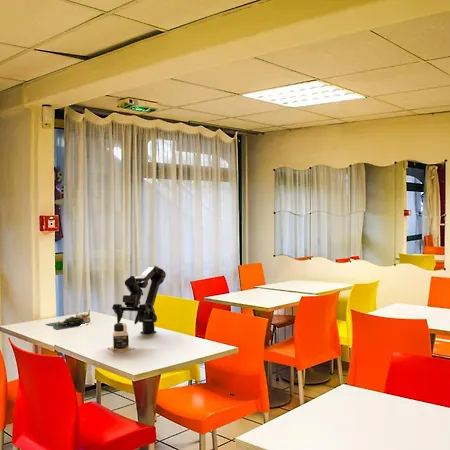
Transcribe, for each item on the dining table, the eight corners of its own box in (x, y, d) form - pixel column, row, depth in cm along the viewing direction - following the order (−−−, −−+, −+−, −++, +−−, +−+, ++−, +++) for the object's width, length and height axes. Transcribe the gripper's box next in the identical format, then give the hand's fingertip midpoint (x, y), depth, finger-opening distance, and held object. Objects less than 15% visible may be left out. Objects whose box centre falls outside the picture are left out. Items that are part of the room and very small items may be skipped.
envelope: (107, 348, 255) (107, 347, 255) (121, 345, 261) (121, 344, 261) (121, 352, 248) (121, 351, 248) (135, 348, 254) (135, 347, 254)
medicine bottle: (113, 350, 250) (113, 325, 249) (113, 346, 257) (112, 322, 256) (128, 349, 251) (128, 324, 251) (127, 345, 258) (127, 321, 258)
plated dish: (91, 316, 338) (90, 305, 338) (111, 324, 316) (110, 312, 316) (37, 326, 316) (36, 314, 316) (54, 334, 294) (54, 321, 294)
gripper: (113, 288, 267) (103, 314, 257) (146, 288, 262) (138, 315, 252) (120, 300, 275) (111, 326, 265) (153, 301, 270) (145, 327, 260)
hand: (126, 323), depth 260 cm, fingers open, 9 cm apart
